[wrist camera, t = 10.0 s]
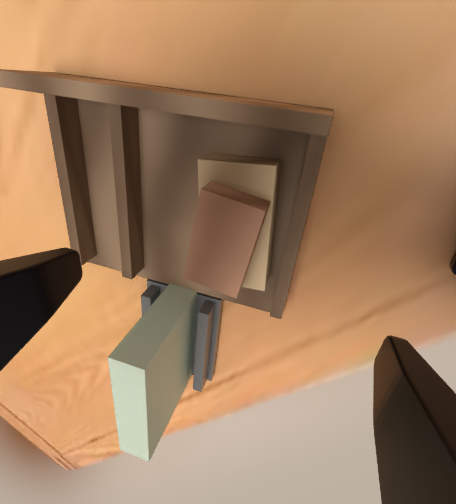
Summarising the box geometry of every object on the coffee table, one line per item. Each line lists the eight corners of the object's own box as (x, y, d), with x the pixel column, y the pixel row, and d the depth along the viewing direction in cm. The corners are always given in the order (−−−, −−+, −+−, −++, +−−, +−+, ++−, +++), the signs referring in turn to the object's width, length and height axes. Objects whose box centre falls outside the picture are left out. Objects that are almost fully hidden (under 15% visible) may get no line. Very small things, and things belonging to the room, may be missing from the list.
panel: (197, 291, 24) (144, 370, 17) (191, 375, 29) (148, 461, 22) (169, 283, 25) (107, 357, 18) (168, 367, 30) (120, 449, 23)
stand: (223, 294, 25) (213, 313, 23) (214, 374, 29) (205, 395, 27) (151, 275, 26) (136, 291, 24) (153, 354, 31) (141, 373, 29)
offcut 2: (270, 201, 17) (265, 211, 16) (242, 284, 20) (236, 298, 19) (211, 180, 17) (200, 188, 16) (192, 265, 21) (182, 277, 19)
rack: (333, 109, 17) (333, 115, 13) (283, 308, 23) (273, 352, 20) (54, 72, 20) (-12, 68, 16) (82, 254, 27) (41, 282, 23)
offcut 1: (281, 158, 18) (276, 165, 16) (269, 275, 21) (264, 291, 20) (209, 152, 19) (197, 159, 17) (210, 264, 23) (201, 279, 21)
